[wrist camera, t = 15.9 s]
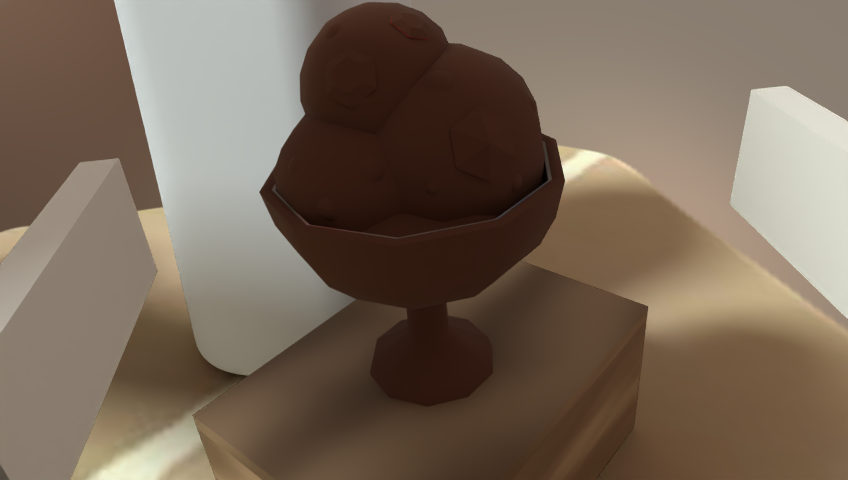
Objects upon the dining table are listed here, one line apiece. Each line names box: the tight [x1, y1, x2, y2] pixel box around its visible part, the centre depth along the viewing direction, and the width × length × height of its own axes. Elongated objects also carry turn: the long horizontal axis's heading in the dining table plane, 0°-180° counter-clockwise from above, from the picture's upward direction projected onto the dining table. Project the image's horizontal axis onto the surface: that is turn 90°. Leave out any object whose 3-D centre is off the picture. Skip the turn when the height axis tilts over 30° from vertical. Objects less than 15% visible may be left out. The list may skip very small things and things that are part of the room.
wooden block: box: [193, 261, 648, 480], centre depth 32 cm, size 12×17×8 cm
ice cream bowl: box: [259, 2, 565, 407], centre depth 26 cm, size 11×11×15 cm
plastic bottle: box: [114, 0, 412, 376], centre depth 39 cm, size 15×15×28 cm
